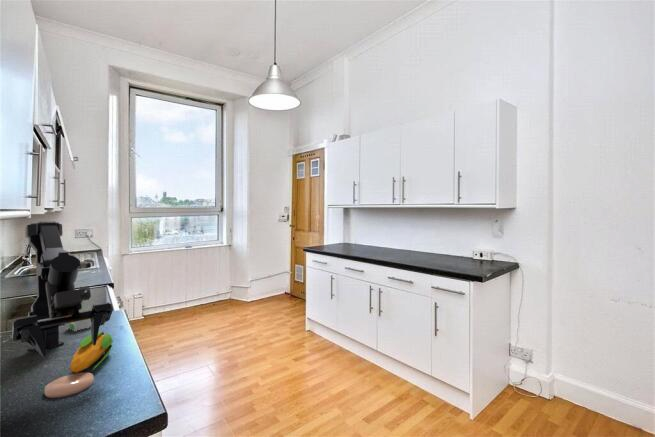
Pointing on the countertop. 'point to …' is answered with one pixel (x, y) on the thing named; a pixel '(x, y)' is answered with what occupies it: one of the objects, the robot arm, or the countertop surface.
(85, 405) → the countertop surface
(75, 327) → the small box
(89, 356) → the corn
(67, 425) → the countertop surface
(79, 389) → the pink flat disc
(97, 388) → the countertop surface
